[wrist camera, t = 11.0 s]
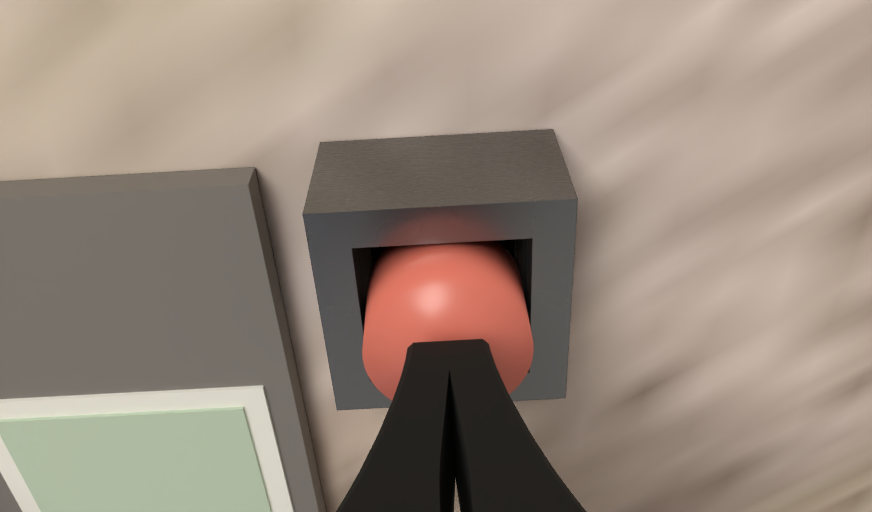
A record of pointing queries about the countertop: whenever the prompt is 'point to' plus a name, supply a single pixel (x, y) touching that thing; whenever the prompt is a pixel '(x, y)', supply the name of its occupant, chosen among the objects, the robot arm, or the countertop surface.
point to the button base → (442, 235)
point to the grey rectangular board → (147, 349)
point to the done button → (445, 307)
